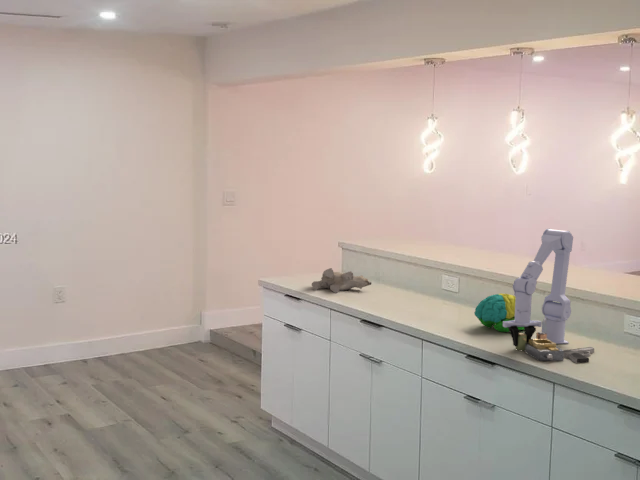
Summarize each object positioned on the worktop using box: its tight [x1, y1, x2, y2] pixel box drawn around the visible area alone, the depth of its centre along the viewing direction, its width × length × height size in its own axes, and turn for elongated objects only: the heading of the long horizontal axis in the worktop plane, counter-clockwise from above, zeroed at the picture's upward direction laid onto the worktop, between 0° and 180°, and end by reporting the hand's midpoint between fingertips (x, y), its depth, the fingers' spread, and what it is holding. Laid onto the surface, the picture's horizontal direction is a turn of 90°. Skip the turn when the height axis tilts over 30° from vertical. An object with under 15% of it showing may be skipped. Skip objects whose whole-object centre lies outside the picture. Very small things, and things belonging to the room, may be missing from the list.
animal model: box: [311, 268, 372, 294], centre depth 387 cm, size 14×28×17 cm
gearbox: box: [524, 338, 564, 362], centre depth 268 cm, size 14×9×5 cm, turn 9°
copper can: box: [535, 331, 547, 339], centre depth 280 cm, size 4×4×6 cm
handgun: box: [562, 346, 595, 364], centre depth 269 cm, size 18×2×12 cm
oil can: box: [515, 332, 527, 352], centre depth 276 cm, size 5×4×6 cm
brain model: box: [474, 293, 525, 333], centre depth 309 cm, size 24×19×15 cm
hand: (520, 345), depth 277 cm, fingers open, 4 cm apart
